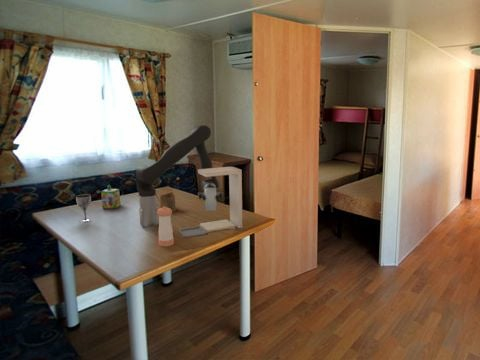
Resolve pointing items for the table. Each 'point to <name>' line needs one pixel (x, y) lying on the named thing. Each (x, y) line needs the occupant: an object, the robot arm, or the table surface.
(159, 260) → the table surface
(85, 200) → the wine glass
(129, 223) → the table surface
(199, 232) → the tray
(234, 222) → the white c-shaped stand
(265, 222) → the table surface
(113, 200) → the decorated lidded jar
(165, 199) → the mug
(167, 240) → the pepper shaker
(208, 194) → the pale grey cylinder
